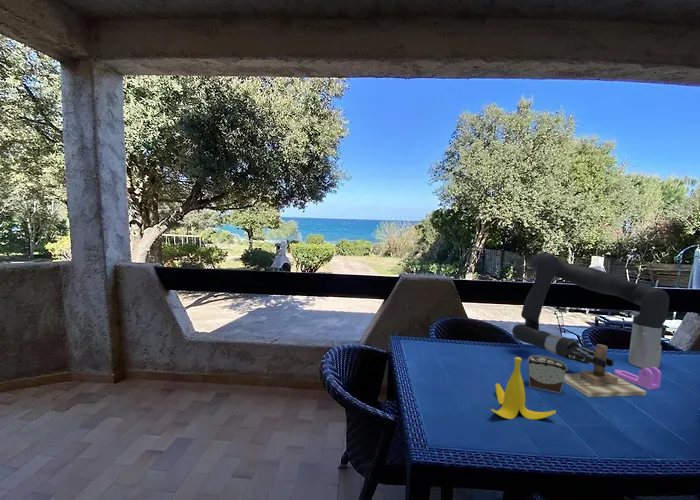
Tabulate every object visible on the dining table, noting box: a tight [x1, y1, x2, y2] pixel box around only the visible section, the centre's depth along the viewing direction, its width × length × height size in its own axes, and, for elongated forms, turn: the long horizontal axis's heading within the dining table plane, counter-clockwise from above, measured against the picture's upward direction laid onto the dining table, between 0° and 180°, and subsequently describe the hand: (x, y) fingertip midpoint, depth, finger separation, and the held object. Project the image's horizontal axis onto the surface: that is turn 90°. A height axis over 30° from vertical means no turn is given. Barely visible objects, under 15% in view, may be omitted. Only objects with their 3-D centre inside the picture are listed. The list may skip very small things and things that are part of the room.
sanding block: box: [579, 343, 618, 386], centre depth 118 cm, size 9×6×13 cm, turn 98°
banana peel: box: [490, 356, 557, 420], centre depth 99 cm, size 17×19×17 cm
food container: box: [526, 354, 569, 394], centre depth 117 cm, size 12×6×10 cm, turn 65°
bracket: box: [613, 367, 662, 391], centre depth 125 cm, size 13×6×7 cm, turn 18°
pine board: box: [563, 372, 647, 398], centre depth 119 cm, size 22×14×2 cm, turn 98°
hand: (609, 364), depth 116 cm, fingers closed on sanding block, 3 cm apart
